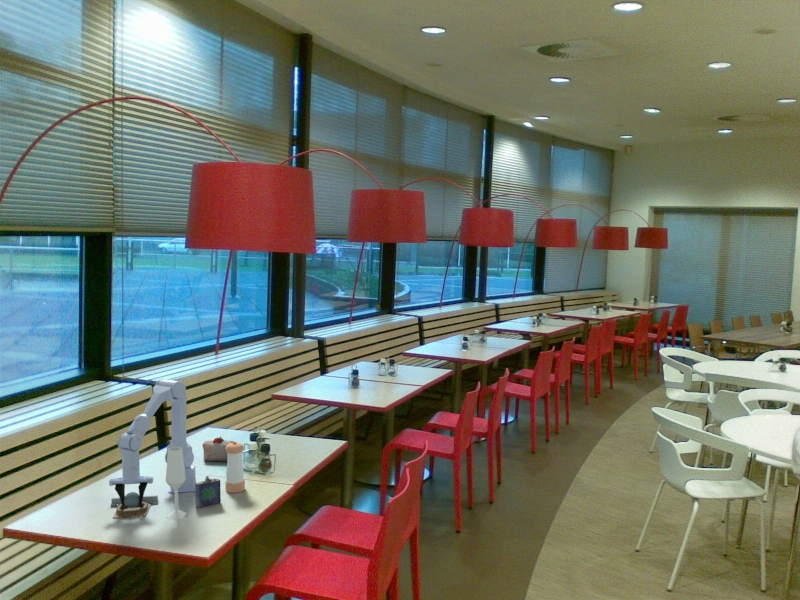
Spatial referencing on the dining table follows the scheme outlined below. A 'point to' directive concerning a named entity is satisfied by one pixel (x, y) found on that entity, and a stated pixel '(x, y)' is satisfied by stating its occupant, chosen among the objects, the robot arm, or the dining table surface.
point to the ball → (131, 499)
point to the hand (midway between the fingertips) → (132, 503)
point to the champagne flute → (175, 477)
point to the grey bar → (146, 499)
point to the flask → (207, 493)
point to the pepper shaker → (234, 468)
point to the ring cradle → (132, 510)
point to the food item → (215, 450)
